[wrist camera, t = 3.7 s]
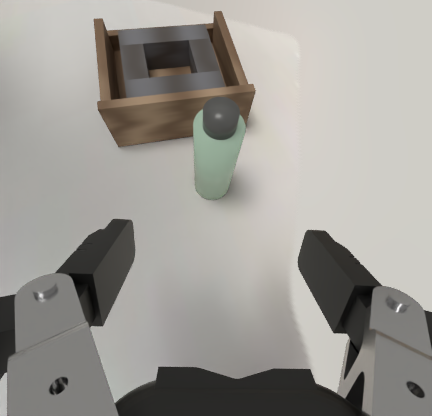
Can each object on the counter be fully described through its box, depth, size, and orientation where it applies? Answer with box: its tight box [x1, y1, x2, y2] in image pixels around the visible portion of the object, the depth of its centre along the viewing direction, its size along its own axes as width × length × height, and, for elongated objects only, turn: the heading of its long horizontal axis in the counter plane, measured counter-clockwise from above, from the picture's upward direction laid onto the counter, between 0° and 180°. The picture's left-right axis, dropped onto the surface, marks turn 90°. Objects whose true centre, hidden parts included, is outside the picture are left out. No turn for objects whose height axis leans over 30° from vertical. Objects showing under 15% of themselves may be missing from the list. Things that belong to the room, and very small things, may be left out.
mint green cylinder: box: [193, 97, 246, 200], centre depth 21 cm, size 4×4×12 cm
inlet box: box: [94, 11, 255, 147], centre depth 28 cm, size 16×16×6 cm
